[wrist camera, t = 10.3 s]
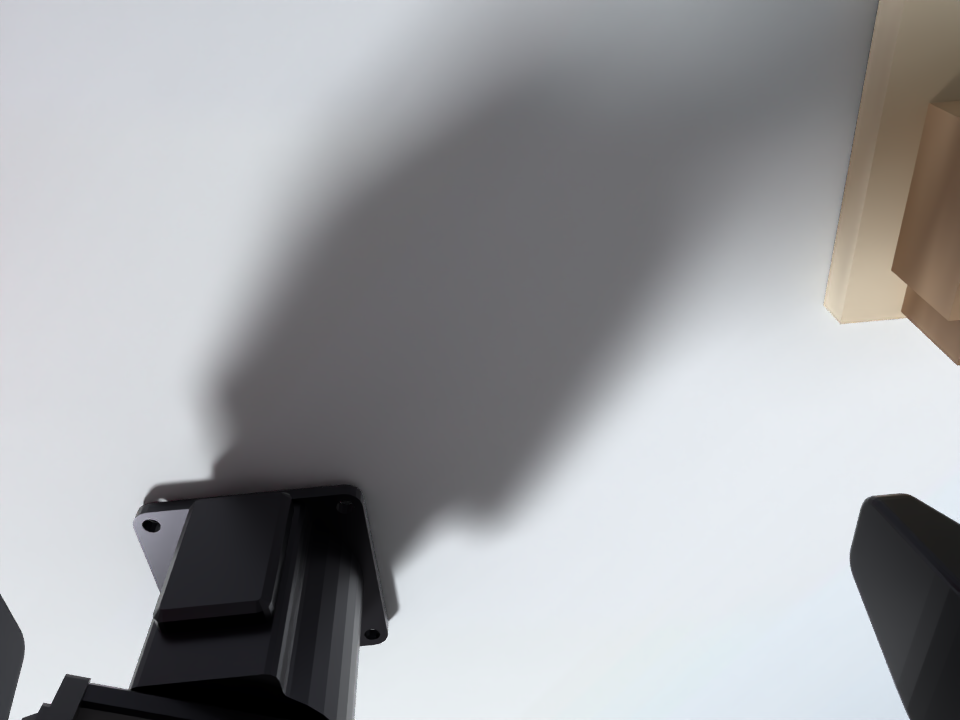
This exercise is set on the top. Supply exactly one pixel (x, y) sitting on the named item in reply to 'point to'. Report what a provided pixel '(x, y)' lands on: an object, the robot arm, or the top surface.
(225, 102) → the top surface
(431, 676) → the top surface
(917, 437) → the top surface
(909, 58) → the cradle jig
